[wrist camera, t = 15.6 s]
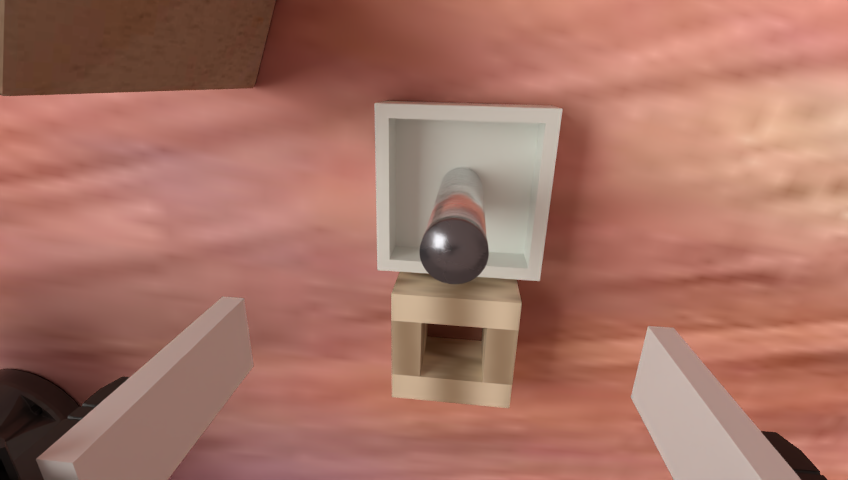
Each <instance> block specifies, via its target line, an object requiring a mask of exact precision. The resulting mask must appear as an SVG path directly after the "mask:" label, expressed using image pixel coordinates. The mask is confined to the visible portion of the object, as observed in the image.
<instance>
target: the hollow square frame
mask: <svg viewBox="0 0 848 480" xmlns="http://www.w3.org/2000/svg"><path fill="white" fill-rule="evenodd" d="M521 306H522V302H521V297H520V293H519V288H518V283H517V280H516V279H501V278H487V277H476V278H475V279H473V280H471V281H469V282H466V283H463V284H447V283H443V282H441V281H438V280H436V279H435V278H433V277H432V276H431V275H430V274H427V273H413V272H400V273H399V275H398V278H397V280H396V283H395V285H394V288H393V291H392V293H391V334H392V397H397V398H407V399H418V400H428V401H438V402H449V403H459V404H470V405H480V406H490V407H501V408H509V407H510V399H511V390H512V382H513V373H514V365H515V357H516V348H517V340H518V331H519V323H520V314H521ZM428 323H429V324H441V325H454V326H467V327H480V328H482V340H481V341H478V340H466V339H454V338H441V337H429V336H427V332H428Z"/></svg>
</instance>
